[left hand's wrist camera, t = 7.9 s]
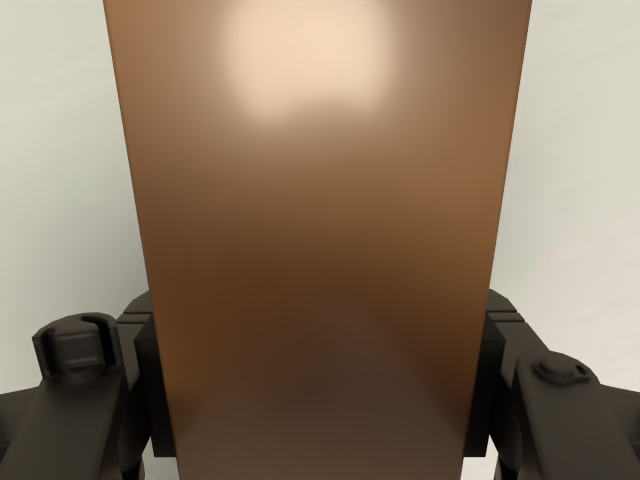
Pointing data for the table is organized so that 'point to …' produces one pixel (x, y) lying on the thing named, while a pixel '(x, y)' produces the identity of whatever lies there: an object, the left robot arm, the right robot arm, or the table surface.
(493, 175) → the beam
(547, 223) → the table surface
